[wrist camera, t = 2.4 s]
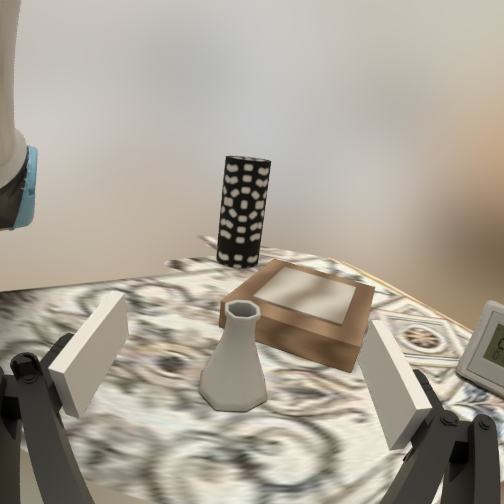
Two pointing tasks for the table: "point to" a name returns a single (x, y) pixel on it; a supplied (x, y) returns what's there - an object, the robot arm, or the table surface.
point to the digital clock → (486, 351)
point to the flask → (235, 362)
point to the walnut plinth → (307, 312)
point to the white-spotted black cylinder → (242, 211)
